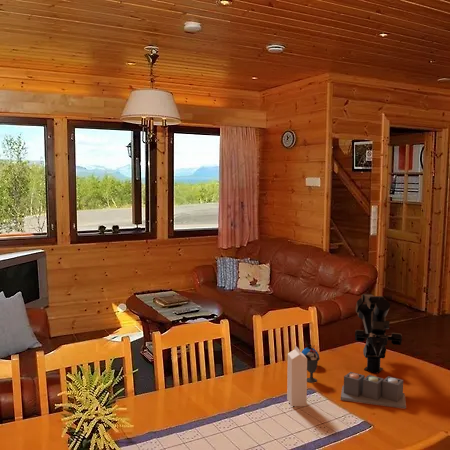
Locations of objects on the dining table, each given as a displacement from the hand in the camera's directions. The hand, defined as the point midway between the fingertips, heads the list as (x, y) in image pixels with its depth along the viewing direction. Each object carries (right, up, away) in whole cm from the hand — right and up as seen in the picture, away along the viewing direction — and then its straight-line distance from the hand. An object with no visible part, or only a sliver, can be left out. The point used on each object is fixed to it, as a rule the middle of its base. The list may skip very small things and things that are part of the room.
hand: (377, 356), depth 198 cm
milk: (-35, -15, -12) cm, 40 cm away
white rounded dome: (+3, -10, -10) cm, 15 cm away
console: (-4, -14, -8) cm, 17 cm away
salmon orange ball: (-11, -10, -6) cm, 16 cm away
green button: (-5, -10, -9) cm, 14 cm away
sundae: (-26, -13, +9) cm, 30 cm away
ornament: (-24, -11, +25) cm, 36 cm away
